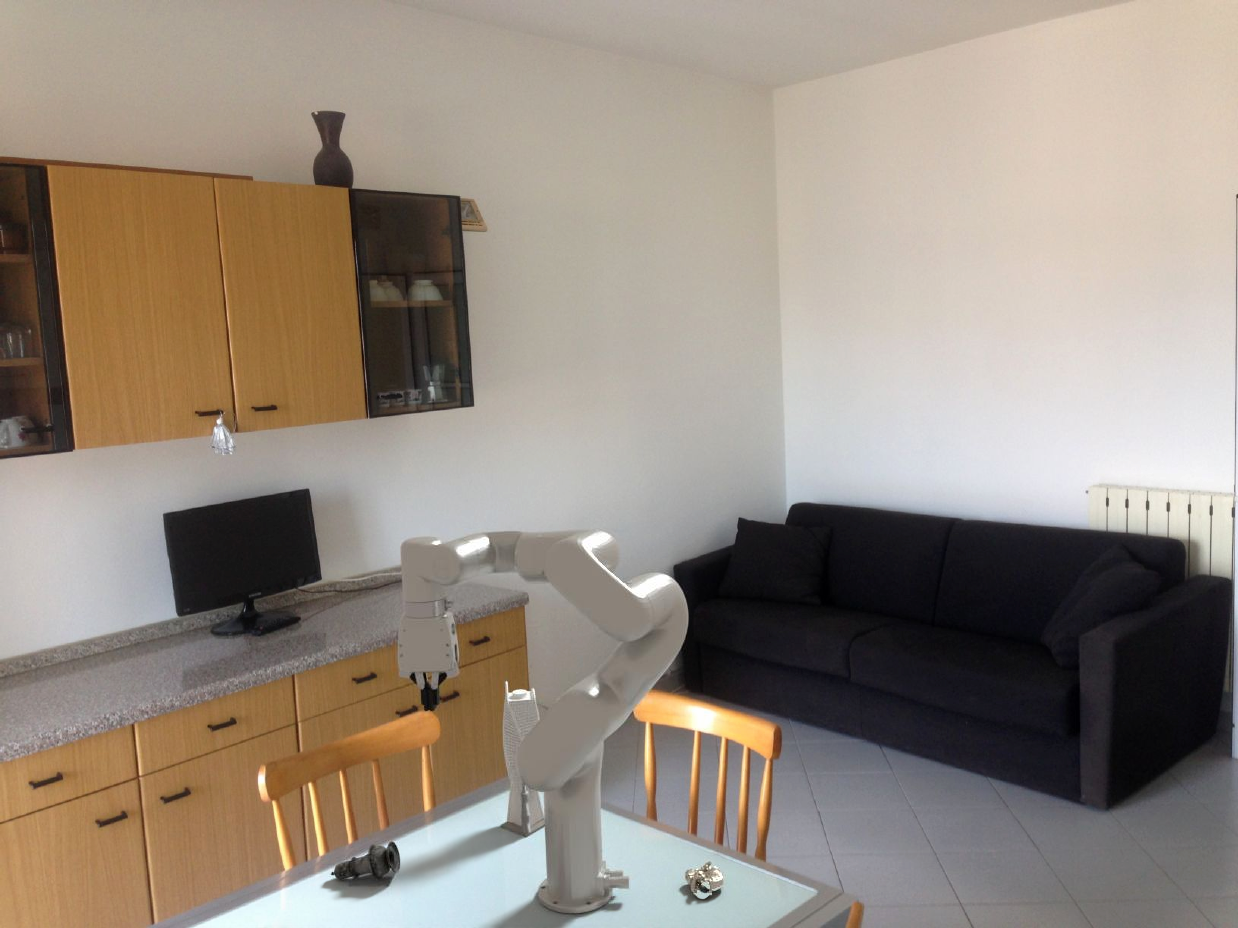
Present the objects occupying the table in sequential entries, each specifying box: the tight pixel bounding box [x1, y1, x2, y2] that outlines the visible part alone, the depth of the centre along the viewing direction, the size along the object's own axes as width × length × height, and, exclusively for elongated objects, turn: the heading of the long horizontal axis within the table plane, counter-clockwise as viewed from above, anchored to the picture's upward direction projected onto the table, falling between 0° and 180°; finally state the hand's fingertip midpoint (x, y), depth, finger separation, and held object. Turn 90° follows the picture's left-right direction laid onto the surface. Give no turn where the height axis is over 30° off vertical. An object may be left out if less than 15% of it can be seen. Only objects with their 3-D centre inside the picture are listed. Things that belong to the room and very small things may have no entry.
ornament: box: [684, 861, 724, 895], centre depth 176 cm, size 8×7×4 cm
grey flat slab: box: [348, 869, 396, 887], centre depth 182 cm, size 7×5×1 cm
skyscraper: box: [499, 680, 545, 838], centre depth 200 cm, size 8×8×28 cm
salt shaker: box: [330, 840, 401, 881], centre depth 182 cm, size 6×6×12 cm
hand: (430, 708), depth 184 cm, fingers closed
